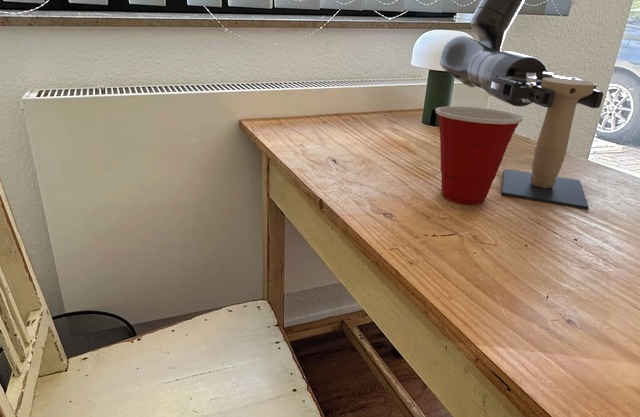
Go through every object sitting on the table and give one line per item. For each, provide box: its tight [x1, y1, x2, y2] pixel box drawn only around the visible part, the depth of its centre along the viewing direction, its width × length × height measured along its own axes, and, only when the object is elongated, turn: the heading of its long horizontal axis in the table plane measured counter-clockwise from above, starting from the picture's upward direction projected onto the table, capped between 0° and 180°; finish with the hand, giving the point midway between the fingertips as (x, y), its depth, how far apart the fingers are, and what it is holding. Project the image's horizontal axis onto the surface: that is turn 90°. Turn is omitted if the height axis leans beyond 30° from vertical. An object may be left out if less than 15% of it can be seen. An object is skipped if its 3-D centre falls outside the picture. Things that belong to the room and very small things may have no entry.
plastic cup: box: [434, 106, 524, 206], centre depth 65 cm, size 11×11×12 cm
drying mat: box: [501, 168, 589, 210], centre depth 72 cm, size 11×11×1 cm
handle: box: [530, 77, 596, 189], centre depth 69 cm, size 5×6×15 cm
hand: (575, 100), depth 64 cm, fingers closed on handle, 6 cm apart
